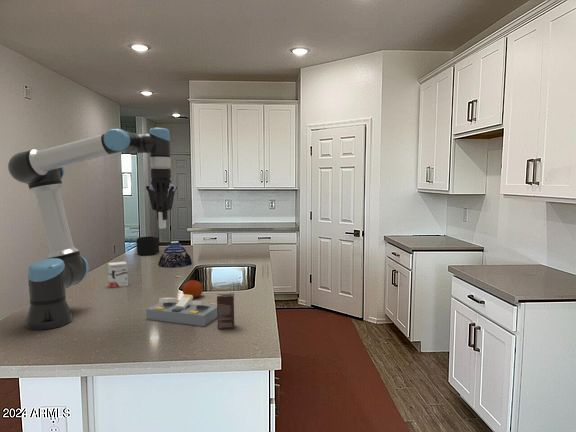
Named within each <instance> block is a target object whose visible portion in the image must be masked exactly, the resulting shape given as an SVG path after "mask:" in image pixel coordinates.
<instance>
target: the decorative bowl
mask: <svg viewBox="0 0 576 432" xmlns="http://www.w3.org/2000/svg"><path fill="white" fill-rule="evenodd" d="M170 243H171V244H168V245H167V246H168V247H165V249H164V250H163V253H162V254H161V256H160V258H159V260H158V266H159V267H160V268H170V269H171V268H172V269H174V268H175V269H176V268H183V267H188V266H191V265H192V264H193V263H192V259H191V256H190V254H189V253H188V252H187V249H185V247H184V246H182V244H180V243H179V241H177V240H176V241H175V240H174V241H170ZM183 253H185V254H183ZM164 254H166V255H164ZM177 266H178V267H177Z"/></svg>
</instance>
